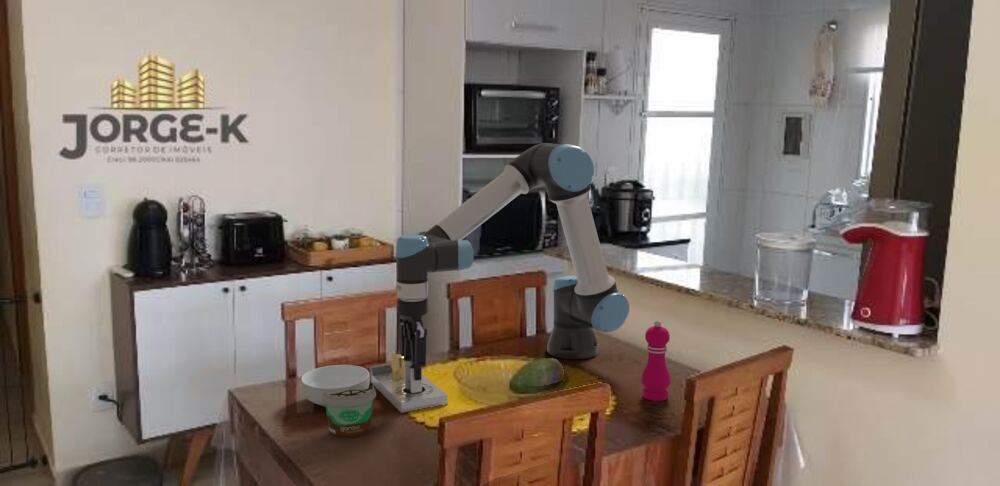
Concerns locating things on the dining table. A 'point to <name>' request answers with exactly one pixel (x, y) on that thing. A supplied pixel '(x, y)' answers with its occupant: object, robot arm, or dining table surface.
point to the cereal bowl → (333, 381)
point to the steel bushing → (408, 376)
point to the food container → (349, 412)
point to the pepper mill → (656, 364)
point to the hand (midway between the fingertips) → (413, 388)
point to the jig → (393, 387)
